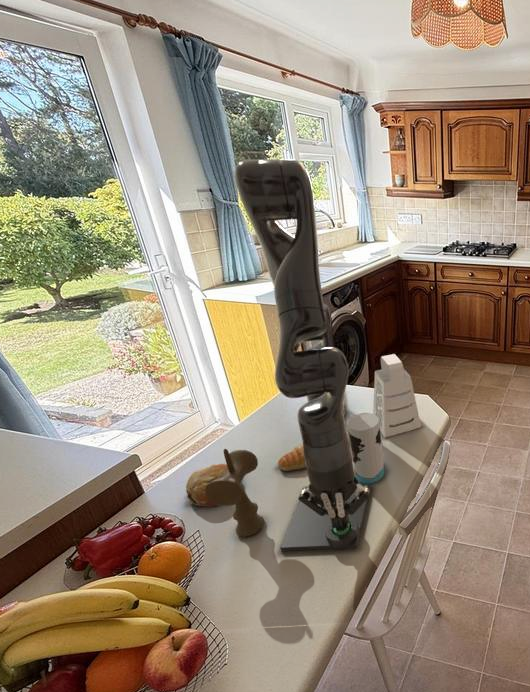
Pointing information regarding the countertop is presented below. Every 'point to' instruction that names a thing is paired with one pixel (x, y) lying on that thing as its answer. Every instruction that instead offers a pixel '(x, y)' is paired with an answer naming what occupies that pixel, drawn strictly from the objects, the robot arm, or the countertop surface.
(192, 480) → the bread roll
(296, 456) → the pastry
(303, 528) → the scale
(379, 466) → the cup
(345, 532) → the tare button
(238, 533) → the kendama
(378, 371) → the grater
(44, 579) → the countertop surface
